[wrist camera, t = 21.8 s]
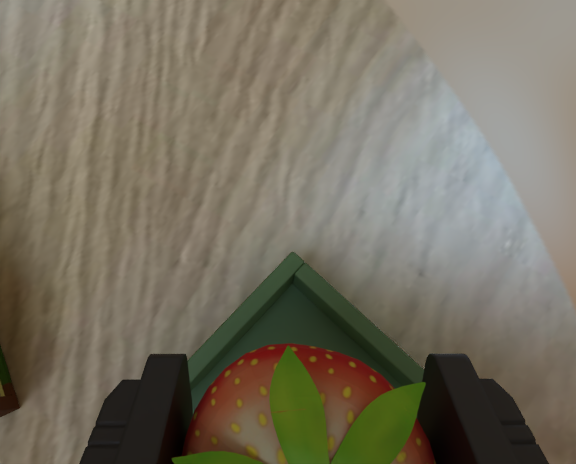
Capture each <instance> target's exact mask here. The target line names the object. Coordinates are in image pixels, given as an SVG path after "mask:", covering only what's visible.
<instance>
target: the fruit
mask: <svg viewBox="0 0 576 464" xmlns="http://www.w3.org/2000/svg"><path fill="white" fill-rule="evenodd" d="M425 385H426V383H425V382H420V383H414V384H410V385H406V386H402V387H399V388H396V389H395V388H394V387H393V386H392V385H391V384H390V383H389V382H388V381H387V380H386V379H385V378H384V377H383V376H382V375H381V374H380V373H378V372H377V371H375V370H374V369H372V368H371V367H369V366H368V365H366V364H365V363H363V362H362V361H360V360H358V359H355V358H352V357H350V356H347V355H344V354H342V353H339V352H336V351H331V350H327V349H323V348H319V347H314V346H307V345H300V344H293V343H288V344H273V345H266V346H264V347H261V348H259V349H256V350H253V351H251V352H248V353H246V354H244V355H243V356H242V357H240V358H239V359H237V360H236V361H235V362H233V363H232V364H230V365H229V366H228V367H226V368H225V369H224V370H223V371H222V373H221V374H220V375H219V376H218V377H217V378H216V379H215V380H214V381H213V383H212V384H211V385H210V386H209V387H208V389H207V390H206V392H205V394H204V395H203V397H202V399H201V400H200V402H199V404H198V405H197V407H196V409H195V411H194V414H193V417H192V419H191V422H190V425H189V428H188V431H187V434H186V437H185V441H184V447H183V452H182V456H180V457H173V458H172V461H173V462H174V464H436V461H435V458H434V455H433V452H432V449H431V445H430V442H429V440H428V438H427V436H426V434H425V433H424V431H423V429H422V427H421V425H420V423H419V421H418V419H417V418H416V416H417V412H418V408H419V404H420V400H421V396H422V393H423V391H424V388H425Z"/></svg>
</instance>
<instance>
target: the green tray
mask: <svg viewBox="0 0 576 464" xmlns="http://www.w3.org/2000/svg"><path fill="white" fill-rule="evenodd" d="M288 343H293V344H300V345H307V346H314V347H319V348H323V349H327V350H331V351H336V352H339V353H342V354H344V355H347V356H350V357H352V358H355V359H358V360H360V361H362V362H363V363H365V364H366V365H368V366H369V367H371V368H372V369H374V370H375V371H377V372H378V373H380V374H381V375H382V376H383V377H384V378H385V379H386V380H387V381H388V382H389V383H390V384H391V385H392V386H393V387H394V388H395V389H396V388H399V387H402V386H406V385H410V384H414V383H420V382H422V379H423V374H424V369H422V368H421V367H420V366H419V365H418V364H417V363H416V362H415V361H414V360H413V359H411V358H410V357H409V356H408V355H407V354H406V353H405V352H404V351H403V350H402V349H400V348H399V347H398V346H397V345H396V344H395V343H394V342H393V341H392V340H390V339H389V338H388V337H387V336H386V335H385V334H384V333H383V332H382V331H381V330H379V329H378V328H377V327H376V326H375V325H374V324H373V323H372V322H371V321H370V320H368V319H367V318H366V317H365V316H364V315H363V314H362V313H361V312H360V311H358V310H357V309H356V308H355V307H354V306H353V305H352V304H351V303H350V302H349V301H347V300H346V299H345V298H344V297H343V296H342V295H341V294H340V293H339V292H338V291H336V290H335V289H334V288H333V287H332V286H331V285H330V284H329V283H328V282H326V281H325V280H324V279H323V278H322V277H321V276H320V275H319V274H318V273H317V272H315V271H314V270H313V269H312V268H311V267H310V266H309V265H308V264H306V263H304V261H303V260H302V259H301V258H300V257H299V256H298V255H297V254H296V253H294V252H291V253H290V254H289V255H288V256H287V257H286V258H285V259H284V261H283V262H282V263H281V264H280V265H279V266H278V267H277V268H276V269H275V270H274V271H273V272H272V273H271V274H270V275H269V276H268V277H267V278H266V279H265V280H264V281H263V282H262V283H261V285H260V286H259V287H258V288H257V289H256V290H255V291H254V292H253V293H252V294H251V295H250V296H249V297H248V298H247V299H246V300H245V301H244V302H243V303H242V304H241V305H240V306H239V307H238V309H237V310H236V311H235V312H234V313H233V314H232V315H231V316H230V317H229V318H228V319H227V320H226V321H225V322H224V323H223V324H222V325H221V326H220V327H219V328H218V329H217V330H216V331H215V333H214V334H213V335H212V336H211V337H210V338H209V339H208V340H207V341H206V342H205V343H204V344H203V345H202V346H201V347H200V348H199V349H198V350H197V351H196V352H195V353H194V354H193V355H192V357H191V358H190V359H189V360H188V370H189V378H190V387H191V396H192V406H193V414H194V411H195V409H196V407H197V405H198V404H199V402H200V400H201V399H202V397H203V395H204V394H205V392H206V390H207V389H208V387H209V386H210V385H211V384H212V383H213V381H214V380H215V379H216V378H217V377H218V376H219V375H220V374H221V373H222V371H223V370H224V369H225V368H226V367H228V366H229V365H230V364H232V363H233V362H235V361H236V360H237V359H239V358H240V357H242V356H243V355H244V354H246V353H248V352H251V351H253V350H256V349H259V348H261V347H264V346H266V345H273V344H288ZM416 418H417V416H416Z"/></svg>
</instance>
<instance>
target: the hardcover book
mask: <svg viewBox="0 0 576 464" xmlns="http://www.w3.org/2000/svg"><path fill="white" fill-rule="evenodd" d="M19 408H20V407H19V404H18V400H17V397H16V394H15V391H14V388H13V384H12V381H11V378H10V375H9V372H8V368H7V365H6V362H5V359H4V355H3V352H2V349H1V346H0V417H2V416H4V415H6V414H8V413H10V412H13V411H15V410H17V409H19Z"/></svg>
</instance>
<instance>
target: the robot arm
mask: <svg viewBox="0 0 576 464" xmlns="http://www.w3.org/2000/svg"><path fill="white" fill-rule="evenodd" d="M422 382H425V383H426V385H425V388H424V391H423V393H422V396H421V400H420V404H419V408H418V412H417V419H418V421H419V423H420V425H421V427H422V429H423V431H424V433H425V434H426V436H427V438H428V440H429V442H430V445H431V449H432V452H433V455H434V458H435V461H436V464H549V463H548V461H547V460H546V458H545V456H544V454H543V452H542V450H541V449H540V447H539V445H537V444H536V442H535V438H534V436H533V434H532V432H531V430H530V429H529V427H528V425H526V424H525V419H524V418H523V416H522V414H521V412H520V410H519V408H518V407H517V405H516V403H515V401H514V399H513V398H512V397H511V396H510V395H509V394H508V393H507V392H506V391H505V390H504V389H503V388H502V387H501V386H500V385H499V384H497V383H496V382H495V381H494V380H493V379H479V378H478V375H477V373H476V371H475V369H474V367H473V365H472V363H471V361H470V359H469V358H468V356H467V355H466V354H429V355H428V357H427V359H426V364H425V369H424V374H423V379H422ZM192 417H193V406H192V396H191V387H190V378H189V370H188V361H187V356H186V354H150V355H149V357H148V359H147V362H146V365H145V368H144V371H143V374H142V377H141V380H122V381H121V382H120V383H119V384H118V386H117V387H116V388H115V389H114V390H113V391H112V392H111V393H110V394H109V395H108V397H107V398H106V399H105V400H104V403H103V405H102V408H101V410H100V413H99V415H98V418H97V420H96V426H95V427H94V428H93V431H92V433H91V436H90V438H89V441H88V446H87V447H86V448H85V451H84V453H83V456H82V458H81V461H80V463H79V464H174V462H173V461H172V458H173V457H180V456H182V452H183V447H184V441H185V437H186V434H187V431H188V428H189V425H190V422H191V419H192Z"/></svg>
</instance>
